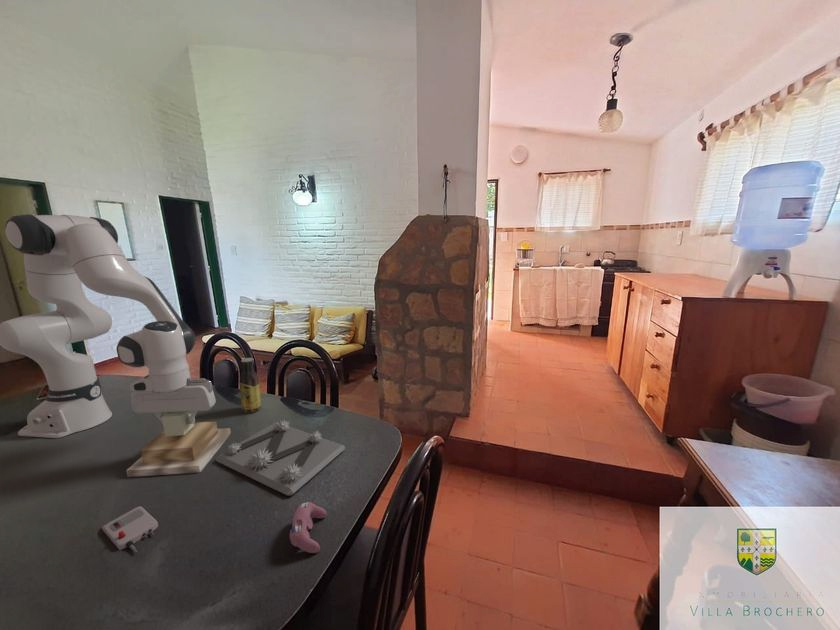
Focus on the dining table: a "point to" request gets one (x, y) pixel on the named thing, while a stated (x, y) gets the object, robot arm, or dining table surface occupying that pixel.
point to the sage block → (176, 423)
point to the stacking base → (183, 464)
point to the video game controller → (305, 526)
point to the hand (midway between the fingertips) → (179, 423)
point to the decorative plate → (281, 456)
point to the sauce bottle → (249, 387)
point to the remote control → (130, 528)
